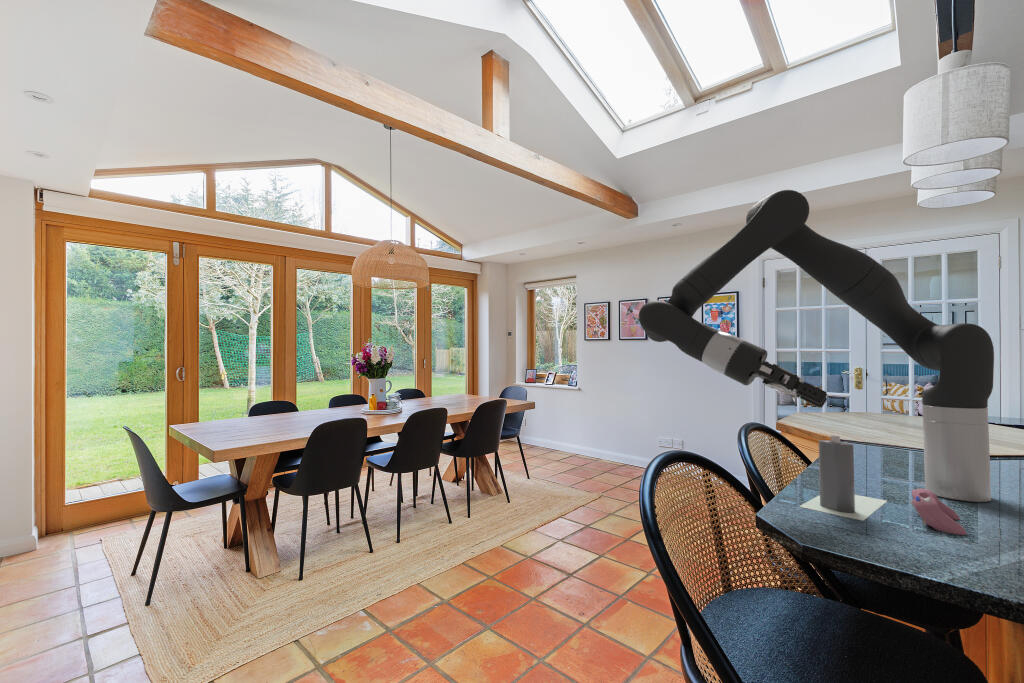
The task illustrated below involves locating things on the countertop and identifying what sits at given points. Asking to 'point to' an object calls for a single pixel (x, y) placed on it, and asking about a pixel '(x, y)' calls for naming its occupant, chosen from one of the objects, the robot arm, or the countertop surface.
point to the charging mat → (862, 507)
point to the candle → (836, 475)
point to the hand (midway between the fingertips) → (824, 401)
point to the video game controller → (935, 512)
